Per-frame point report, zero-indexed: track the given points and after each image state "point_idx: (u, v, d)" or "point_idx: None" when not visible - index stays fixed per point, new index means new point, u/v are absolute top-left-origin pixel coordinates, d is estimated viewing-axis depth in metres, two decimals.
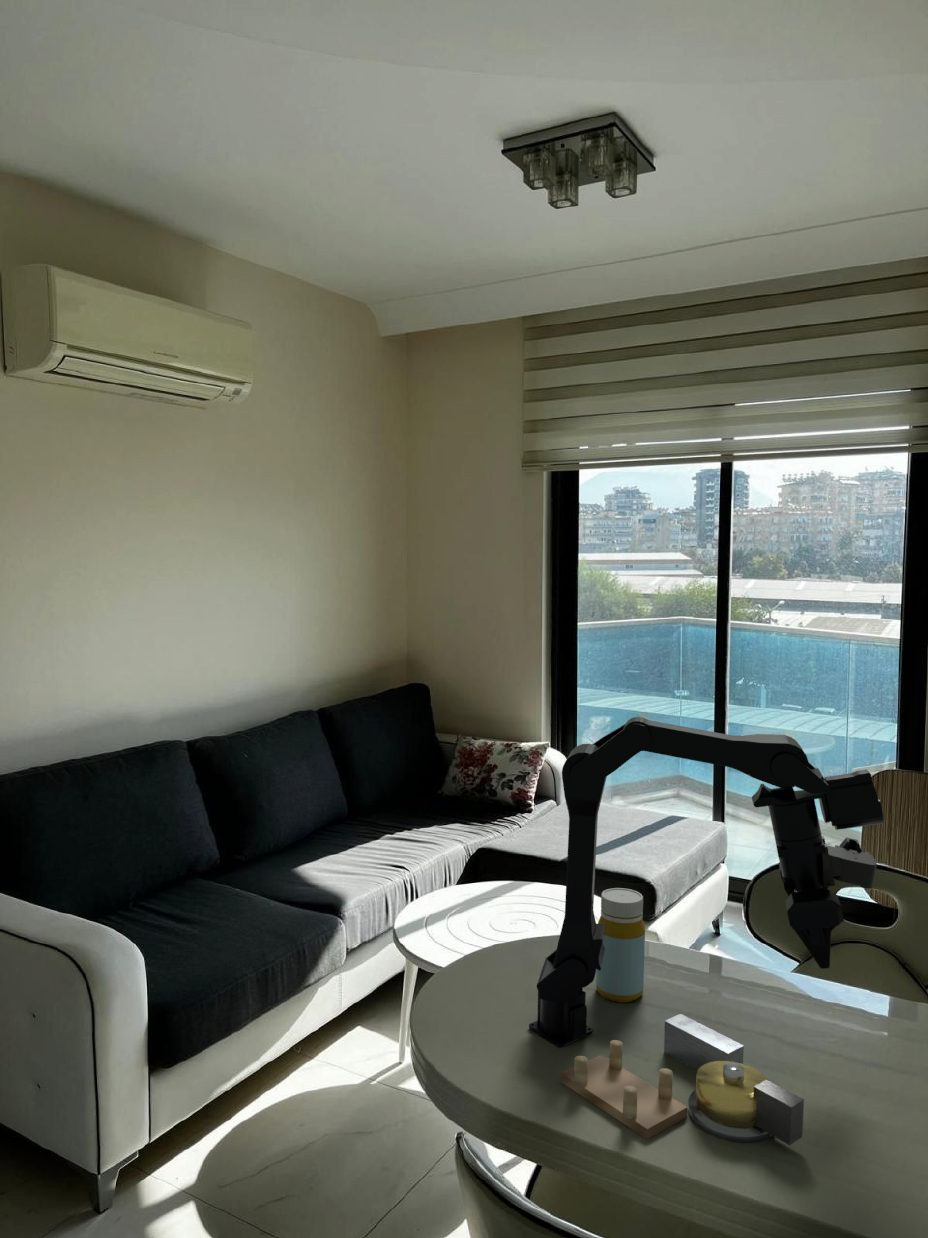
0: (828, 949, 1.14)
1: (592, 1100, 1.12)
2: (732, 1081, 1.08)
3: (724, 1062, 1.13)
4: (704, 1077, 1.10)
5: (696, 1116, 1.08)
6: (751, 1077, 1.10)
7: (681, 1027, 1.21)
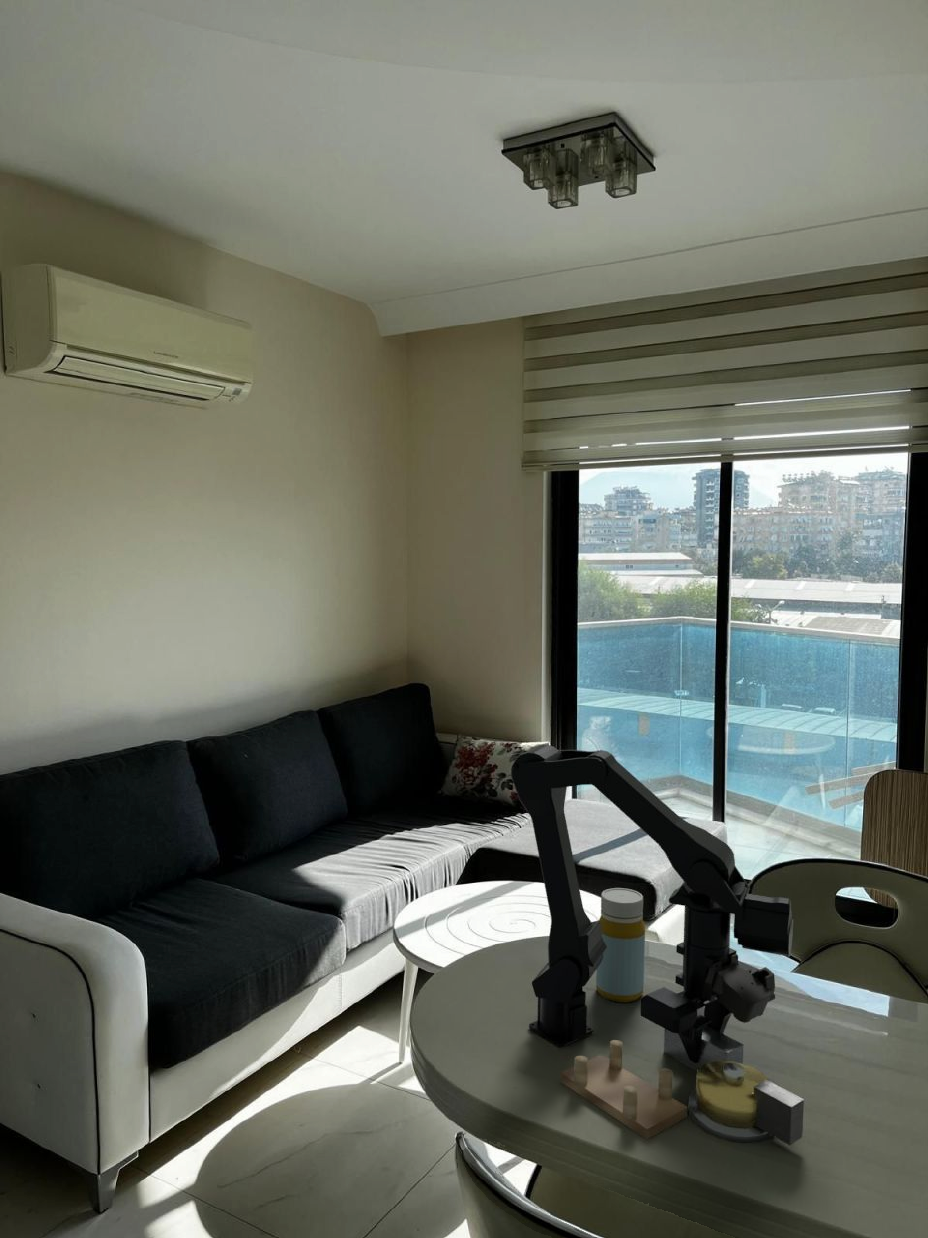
0: (694, 1046, 1.18)
1: (592, 1100, 1.12)
2: (732, 1081, 1.08)
3: (724, 1062, 1.13)
4: (704, 1077, 1.10)
5: (696, 1116, 1.08)
6: (751, 1077, 1.10)
7: None
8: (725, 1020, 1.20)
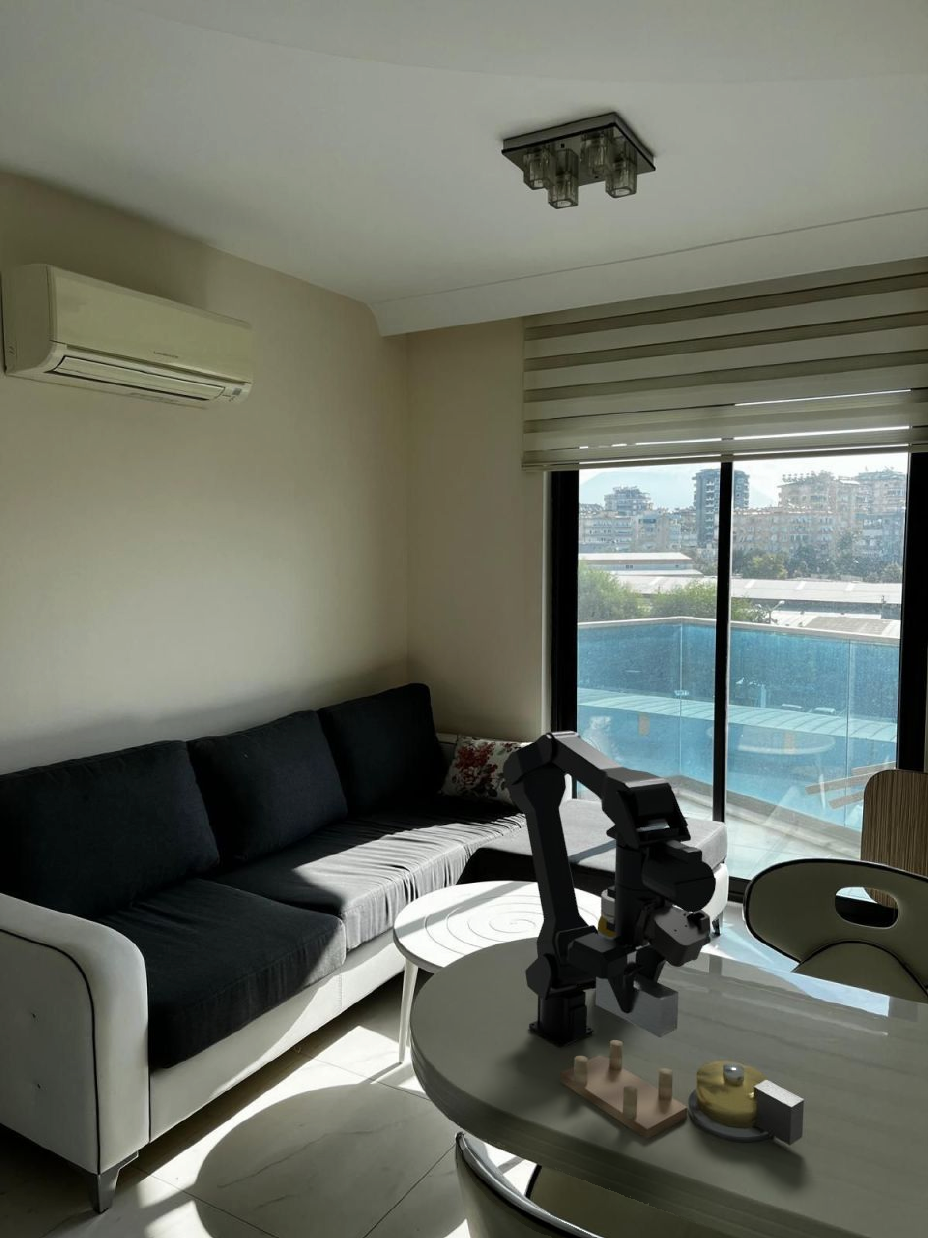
0: (626, 995, 1.10)
1: (592, 1100, 1.12)
2: (732, 1081, 1.08)
3: (724, 1062, 1.13)
4: (704, 1077, 1.10)
5: (696, 1116, 1.08)
6: (751, 1077, 1.10)
7: None
8: (659, 968, 1.13)
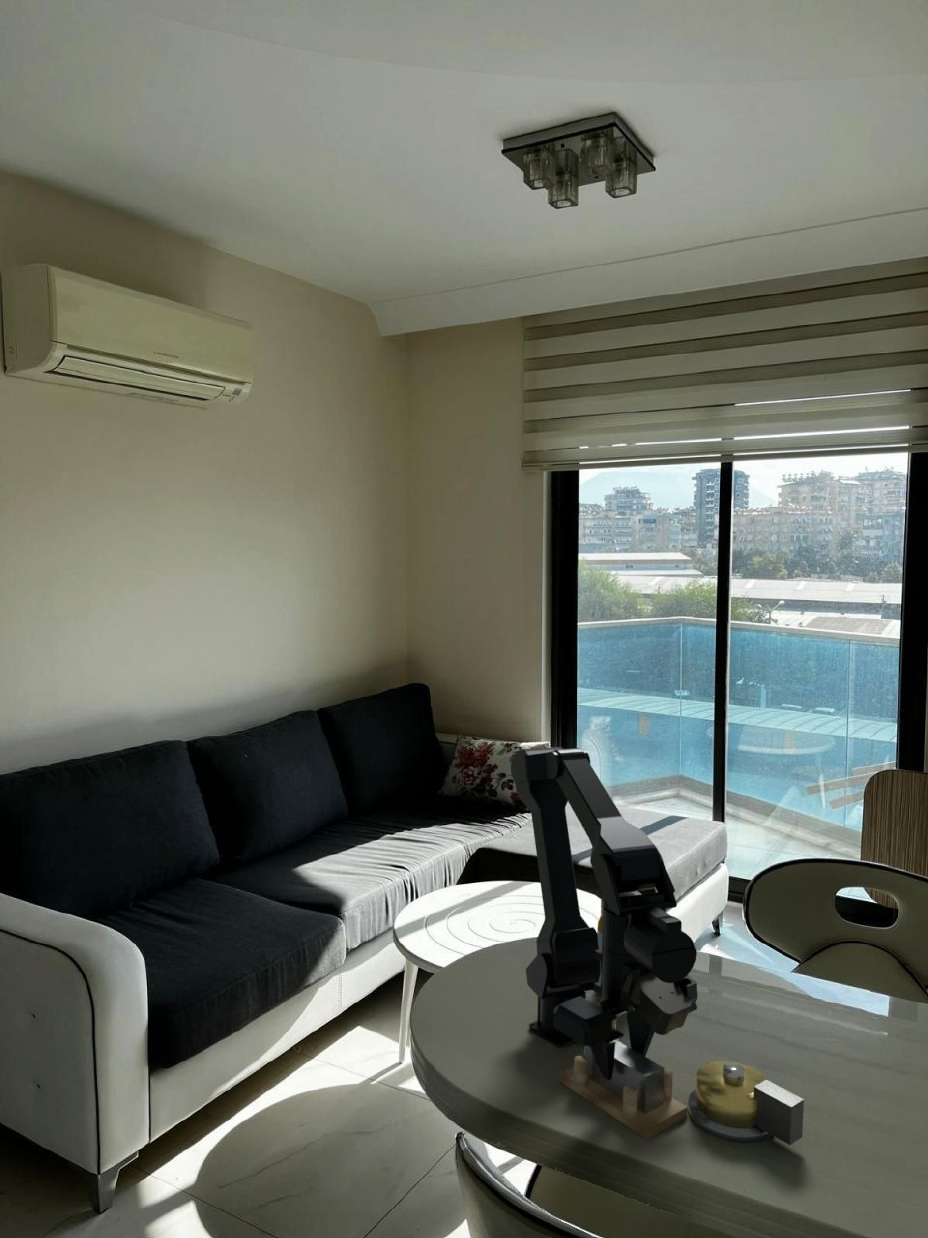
0: (606, 1062, 1.09)
1: (592, 1100, 1.12)
2: (732, 1081, 1.08)
3: (724, 1062, 1.13)
4: (704, 1077, 1.10)
5: (696, 1116, 1.08)
6: (751, 1077, 1.10)
7: None
8: None
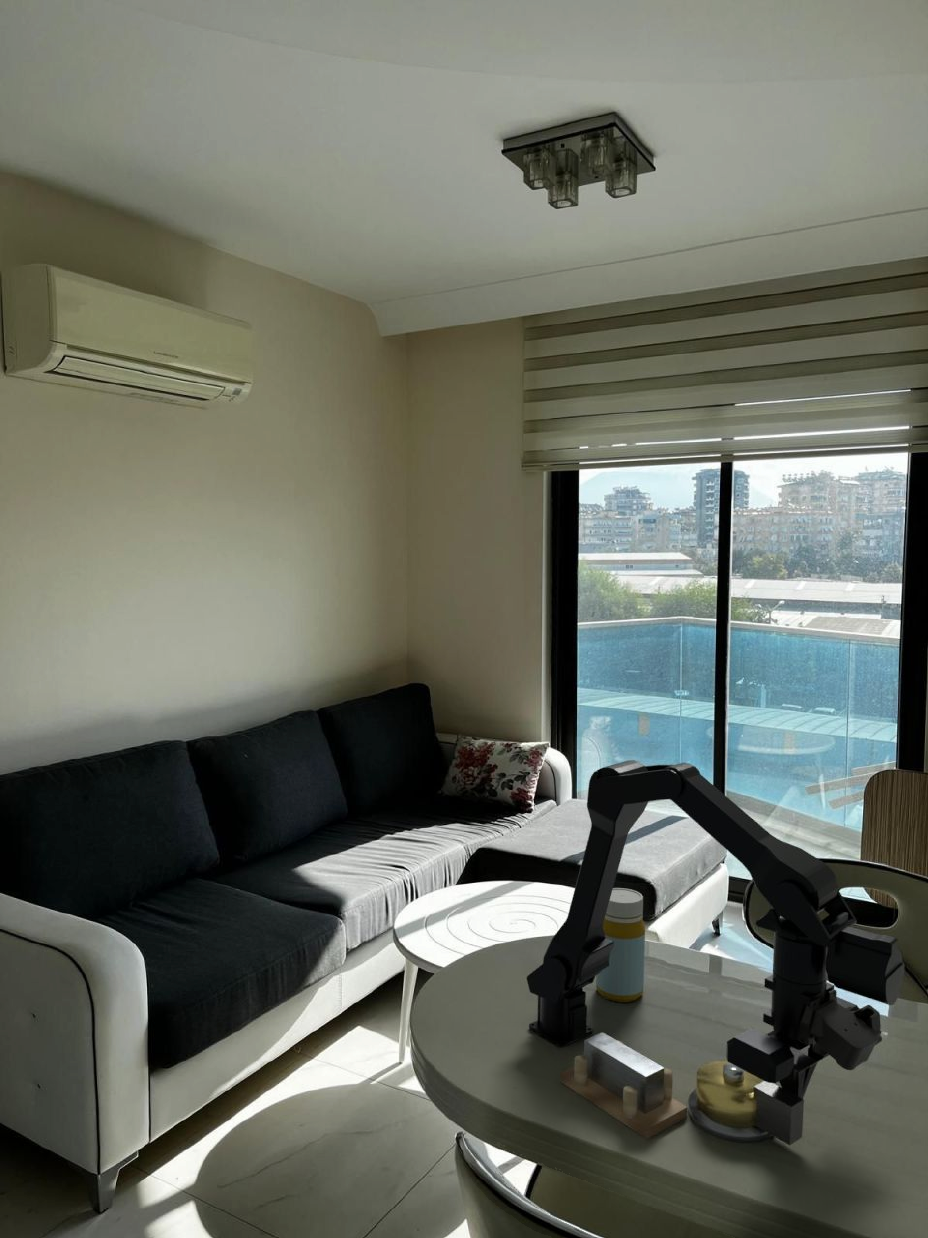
0: (796, 1089, 1.04)
1: (592, 1100, 1.12)
2: (732, 1081, 1.08)
3: (724, 1062, 1.13)
4: (704, 1077, 1.10)
5: (696, 1116, 1.08)
6: (751, 1077, 1.10)
7: (600, 1047, 1.13)
8: (811, 1068, 1.05)
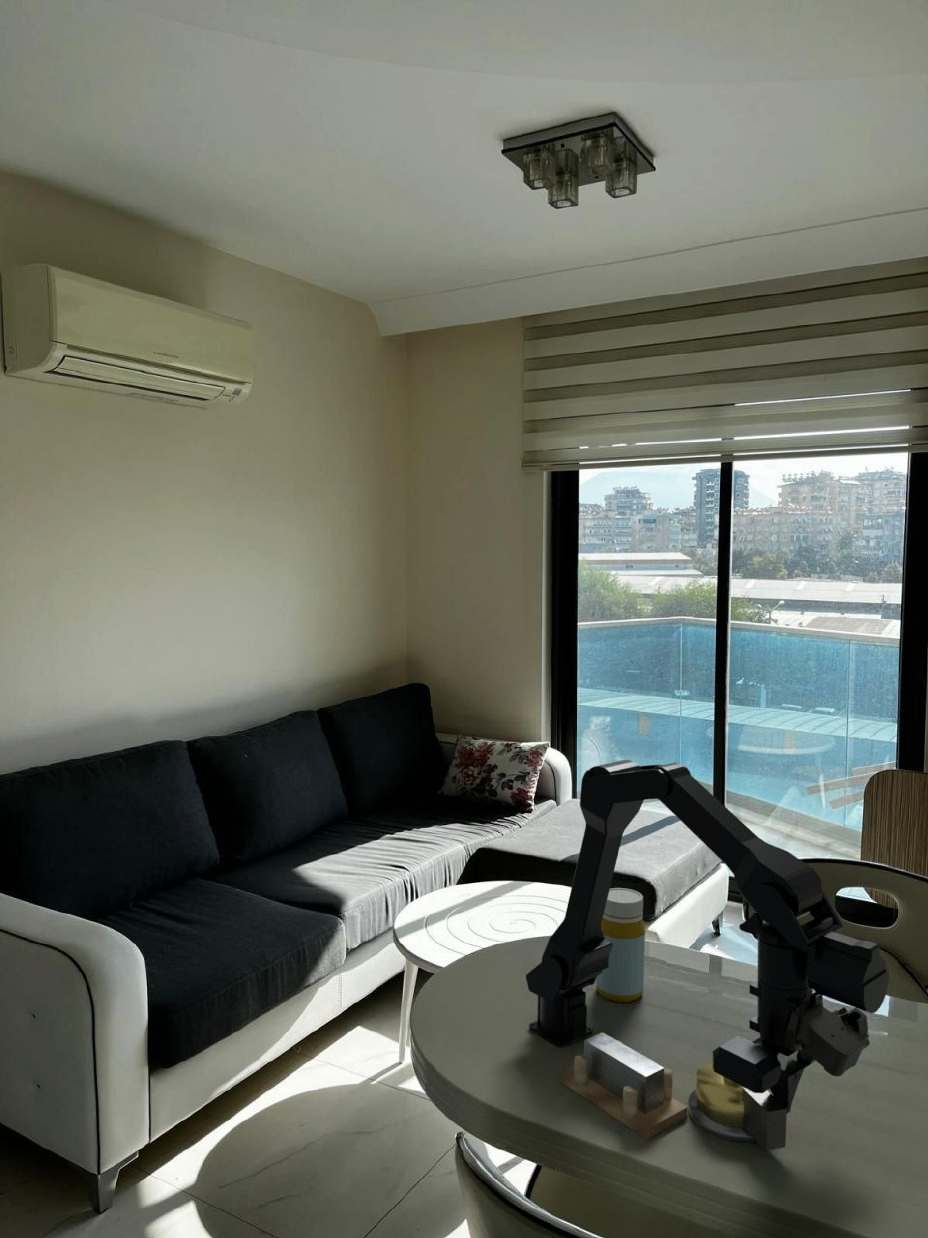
0: (786, 1095, 1.03)
1: (592, 1100, 1.12)
2: (732, 1081, 1.08)
3: None
4: (705, 1072, 1.11)
5: (696, 1116, 1.08)
6: None
7: (600, 1047, 1.13)
8: (798, 1075, 1.03)
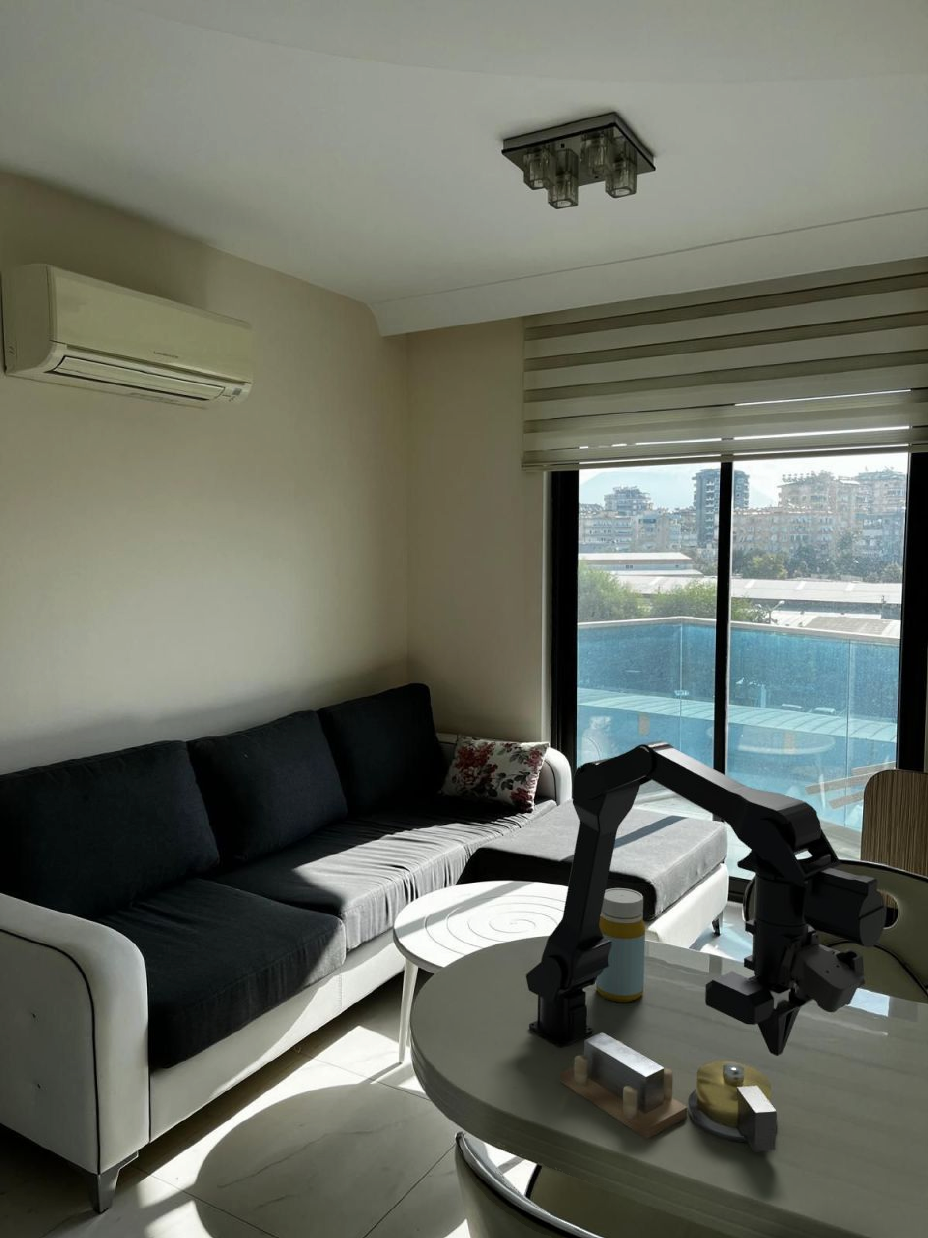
0: (776, 1036, 1.01)
1: (592, 1100, 1.12)
2: (732, 1081, 1.08)
3: (741, 1065, 1.12)
4: (707, 1070, 1.11)
5: (696, 1116, 1.08)
6: (755, 1083, 1.09)
7: (600, 1047, 1.13)
8: (794, 1014, 1.02)
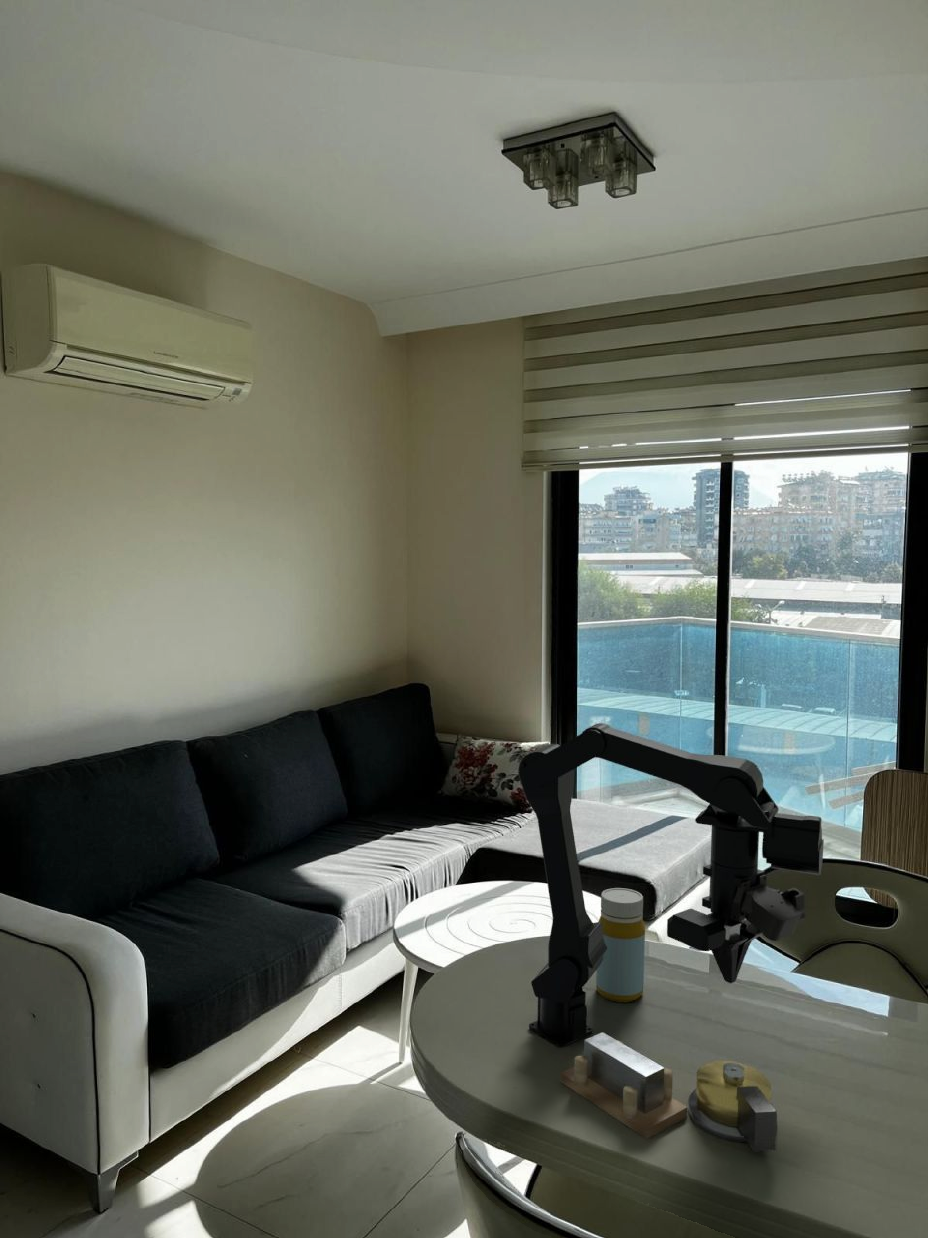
0: (730, 965, 1.16)
1: (592, 1100, 1.12)
2: (732, 1081, 1.08)
3: (741, 1065, 1.12)
4: (707, 1070, 1.11)
5: (696, 1116, 1.08)
6: (755, 1083, 1.09)
7: (600, 1047, 1.13)
8: (745, 947, 1.17)
